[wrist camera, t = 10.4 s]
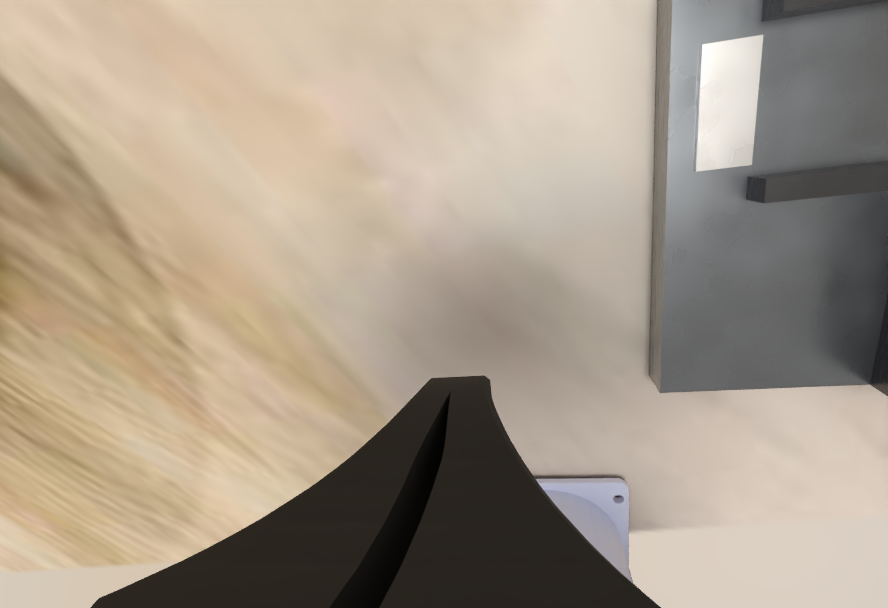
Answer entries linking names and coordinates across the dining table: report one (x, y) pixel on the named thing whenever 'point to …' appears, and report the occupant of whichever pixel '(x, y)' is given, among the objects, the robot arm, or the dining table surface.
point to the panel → (770, 195)
